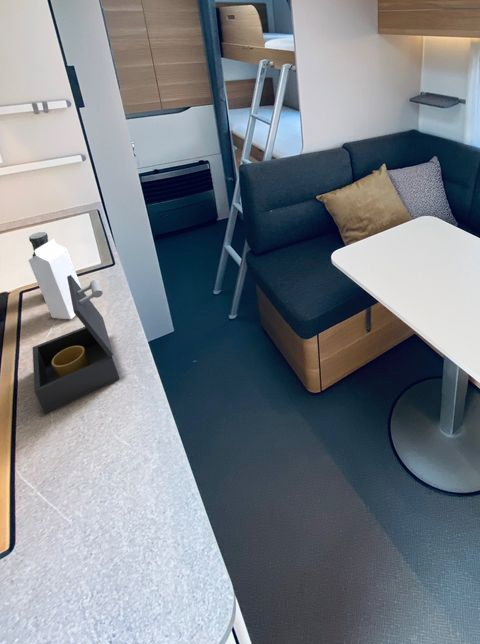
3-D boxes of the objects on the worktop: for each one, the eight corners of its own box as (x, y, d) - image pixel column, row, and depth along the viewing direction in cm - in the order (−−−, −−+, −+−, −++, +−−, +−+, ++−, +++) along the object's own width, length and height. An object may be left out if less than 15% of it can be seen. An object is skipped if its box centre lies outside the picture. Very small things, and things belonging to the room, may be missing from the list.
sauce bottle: (50, 302, 119) (27, 244, 111) (40, 296, 122) (16, 238, 114) (75, 290, 124) (54, 233, 116) (64, 284, 127) (43, 228, 119)
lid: (73, 312, 83) (101, 297, 86) (66, 276, 95) (91, 264, 97) (109, 357, 91) (134, 342, 93) (99, 319, 102) (121, 307, 104)
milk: (52, 318, 113) (22, 250, 104) (70, 303, 118) (43, 237, 110) (71, 319, 112) (43, 251, 103) (88, 305, 117) (63, 238, 109)
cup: (86, 378, 93) (80, 361, 91) (54, 386, 91) (47, 370, 89) (93, 358, 98) (87, 342, 96) (63, 366, 96) (56, 349, 94)
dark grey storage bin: (45, 414, 85) (34, 392, 83) (41, 367, 97) (32, 347, 94) (119, 378, 93) (112, 357, 91) (108, 339, 105) (101, 319, 102)
